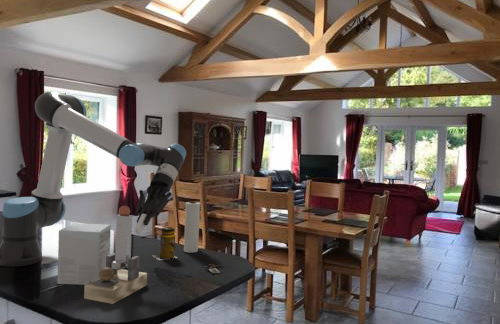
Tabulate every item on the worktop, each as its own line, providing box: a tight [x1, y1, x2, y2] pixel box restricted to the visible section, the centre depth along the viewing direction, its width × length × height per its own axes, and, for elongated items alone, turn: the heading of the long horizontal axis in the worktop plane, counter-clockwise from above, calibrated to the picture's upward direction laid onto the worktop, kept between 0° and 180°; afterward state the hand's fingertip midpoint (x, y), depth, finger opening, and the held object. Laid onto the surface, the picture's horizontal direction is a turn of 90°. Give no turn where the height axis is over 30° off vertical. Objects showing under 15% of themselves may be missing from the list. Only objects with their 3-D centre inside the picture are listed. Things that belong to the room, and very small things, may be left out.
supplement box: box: [57, 222, 112, 286], centre depth 143 cm, size 13×13×18 cm
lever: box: [112, 205, 133, 271], centre depth 133 cm, size 5×6×19 cm
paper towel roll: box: [183, 201, 201, 254], centre depth 185 cm, size 7×6×21 cm
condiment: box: [151, 226, 178, 261], centre depth 174 cm, size 7×8×12 cm
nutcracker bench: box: [83, 252, 148, 305], centre depth 132 cm, size 18×10×10 cm, turn 162°
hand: (137, 232), depth 141 cm, fingers closed
